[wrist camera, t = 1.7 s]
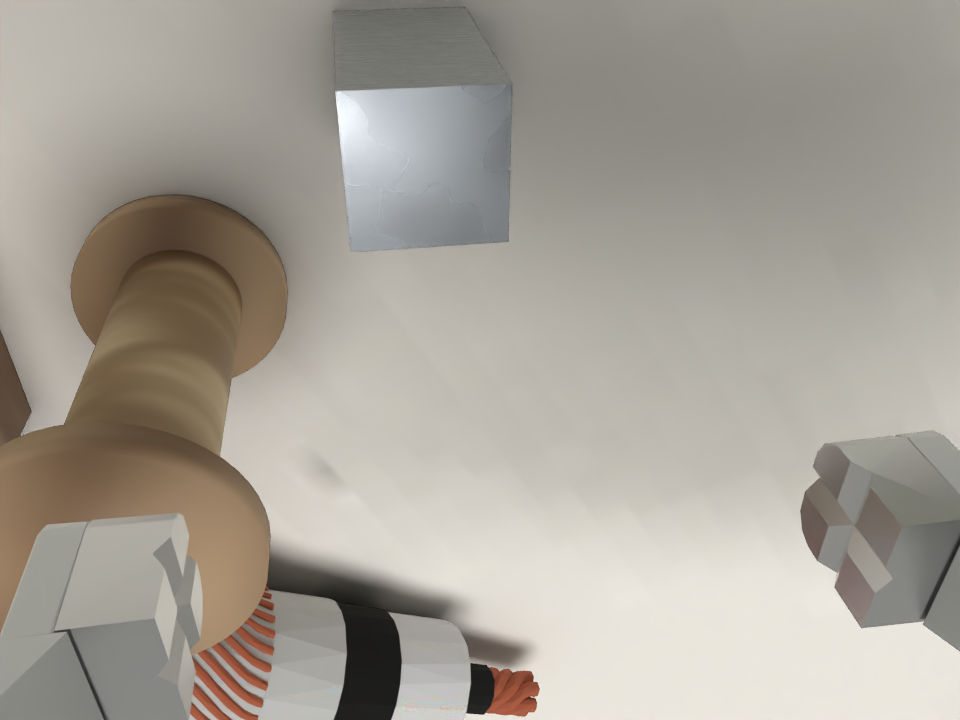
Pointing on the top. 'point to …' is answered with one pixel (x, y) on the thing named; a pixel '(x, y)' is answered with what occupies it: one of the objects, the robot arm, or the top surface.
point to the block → (421, 129)
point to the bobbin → (158, 398)
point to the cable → (348, 667)
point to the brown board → (11, 399)
